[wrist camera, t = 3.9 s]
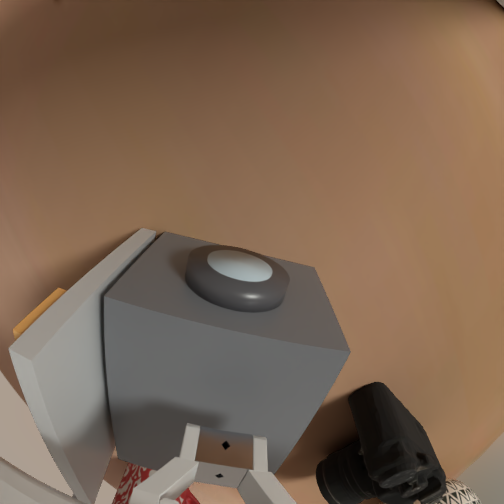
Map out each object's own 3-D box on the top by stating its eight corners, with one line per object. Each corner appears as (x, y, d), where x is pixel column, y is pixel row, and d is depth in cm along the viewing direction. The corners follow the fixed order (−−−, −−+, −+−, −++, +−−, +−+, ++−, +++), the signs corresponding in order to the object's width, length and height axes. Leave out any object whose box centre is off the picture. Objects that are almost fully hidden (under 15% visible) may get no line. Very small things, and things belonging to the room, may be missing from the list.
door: (131, 225, 17) (-8, 338, 6) (156, 231, 17) (31, 360, 6) (124, 379, 21) (70, 499, 10) (142, 385, 21) (95, 510, 10)
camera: (279, 429, 23) (284, 527, 14) (386, 368, 21) (433, 469, 11) (348, 471, 27) (363, 540, 17) (430, 427, 24) (460, 495, 15)
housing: (167, 215, 17) (96, 277, 9) (319, 252, 17) (366, 339, 9) (148, 377, 21) (115, 466, 13) (261, 402, 22) (262, 496, 14)
